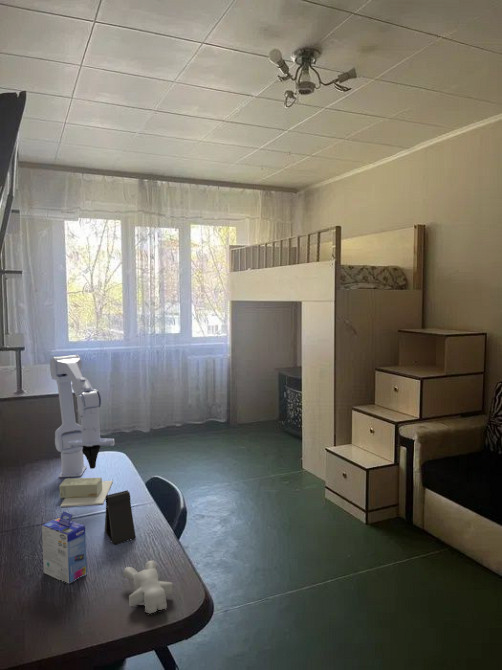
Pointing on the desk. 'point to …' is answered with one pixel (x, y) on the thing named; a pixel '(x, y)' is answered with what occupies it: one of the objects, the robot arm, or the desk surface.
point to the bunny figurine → (148, 587)
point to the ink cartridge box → (64, 548)
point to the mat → (89, 500)
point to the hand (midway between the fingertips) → (92, 467)
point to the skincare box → (80, 487)
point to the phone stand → (119, 517)
